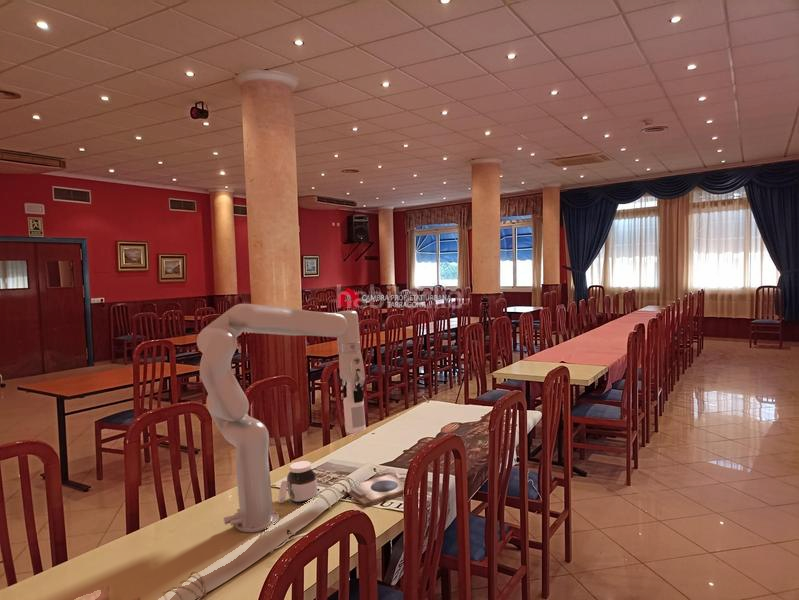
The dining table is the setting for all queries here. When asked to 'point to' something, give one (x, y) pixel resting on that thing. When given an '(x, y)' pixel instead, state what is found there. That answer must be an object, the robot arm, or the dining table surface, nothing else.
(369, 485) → the square pad with disc
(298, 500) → the spread jar
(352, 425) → the spray bottle
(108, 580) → the dining table surface
